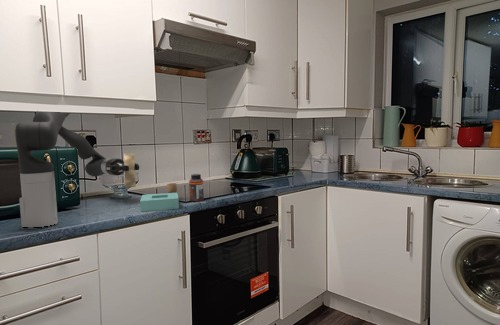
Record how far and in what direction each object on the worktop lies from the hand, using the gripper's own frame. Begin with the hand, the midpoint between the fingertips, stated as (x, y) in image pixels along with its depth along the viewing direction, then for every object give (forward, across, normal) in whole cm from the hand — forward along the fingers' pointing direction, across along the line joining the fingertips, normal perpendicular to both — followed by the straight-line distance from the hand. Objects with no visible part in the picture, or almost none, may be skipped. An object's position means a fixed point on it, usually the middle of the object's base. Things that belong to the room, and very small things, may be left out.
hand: (133, 167), depth 138 cm
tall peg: (-3, 0, +8) cm, 8 cm away
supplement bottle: (+16, +20, +15) cm, 30 cm away
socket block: (+13, +3, +15) cm, 21 cm away
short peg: (+6, +15, +15) cm, 22 cm away
